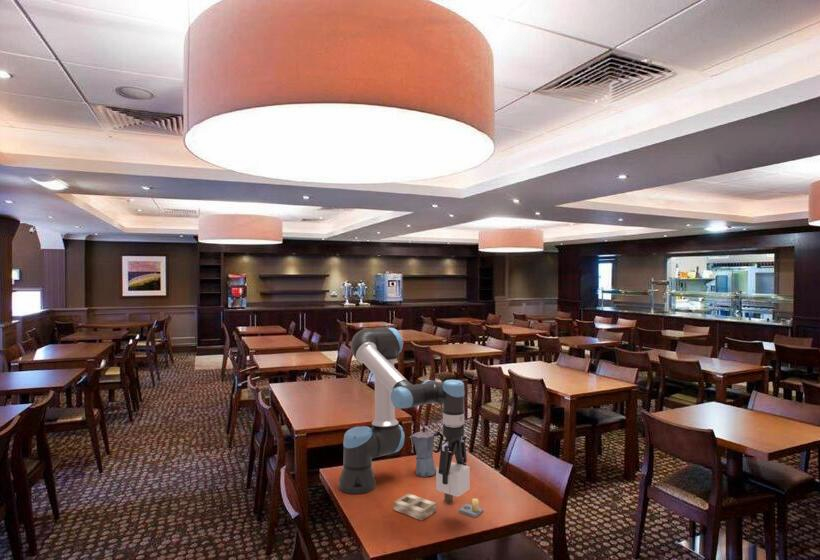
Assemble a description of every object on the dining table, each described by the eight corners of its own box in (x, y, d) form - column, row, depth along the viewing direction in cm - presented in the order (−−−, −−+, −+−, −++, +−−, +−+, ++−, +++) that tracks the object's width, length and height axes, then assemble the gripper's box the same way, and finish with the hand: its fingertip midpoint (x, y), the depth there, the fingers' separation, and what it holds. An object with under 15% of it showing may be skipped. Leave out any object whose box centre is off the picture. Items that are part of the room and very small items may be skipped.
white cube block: (436, 490, 171) (436, 467, 171) (448, 482, 177) (448, 461, 177) (458, 496, 166) (458, 473, 166) (469, 489, 172) (469, 466, 172)
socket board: (393, 509, 179) (393, 501, 179) (408, 501, 187) (408, 493, 187) (422, 520, 172) (422, 512, 172) (436, 511, 179) (436, 503, 179)
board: (458, 512, 178) (458, 498, 178) (466, 506, 183) (466, 493, 183) (475, 517, 174) (475, 504, 174) (483, 511, 179) (483, 498, 179)
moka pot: (406, 470, 216) (407, 426, 216) (438, 467, 221) (439, 423, 221) (412, 479, 207) (413, 432, 207) (446, 475, 212) (446, 429, 212)
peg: (442, 501, 186) (443, 476, 186) (447, 498, 189) (447, 473, 189) (449, 504, 184) (450, 478, 184) (454, 501, 187) (454, 475, 187)
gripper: (446, 433, 161) (446, 501, 161) (476, 419, 178) (476, 481, 178) (428, 429, 166) (427, 495, 165) (459, 416, 182) (458, 476, 182)
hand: (452, 488), depth 172 cm, fingers closed on white cube block, 8 cm apart
